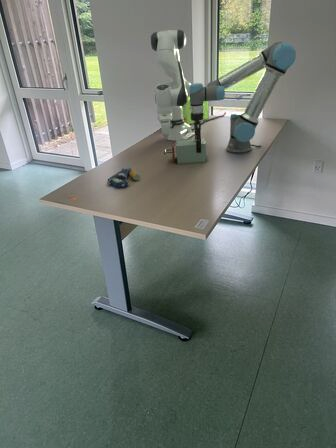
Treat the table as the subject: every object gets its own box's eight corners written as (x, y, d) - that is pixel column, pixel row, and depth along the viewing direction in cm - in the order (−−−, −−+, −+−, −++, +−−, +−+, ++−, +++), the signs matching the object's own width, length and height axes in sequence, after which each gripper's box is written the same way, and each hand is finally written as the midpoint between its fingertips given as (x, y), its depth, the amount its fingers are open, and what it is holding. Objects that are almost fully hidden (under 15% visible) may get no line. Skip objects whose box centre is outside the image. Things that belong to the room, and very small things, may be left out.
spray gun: (146, 174, 192) (124, 172, 198) (145, 167, 190) (123, 165, 196) (127, 190, 176) (104, 187, 183) (125, 183, 174) (102, 180, 181)
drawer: (164, 163, 204) (163, 148, 199) (164, 157, 212) (163, 143, 207) (199, 160, 203) (199, 145, 198) (198, 155, 211) (198, 140, 206)
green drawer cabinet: (177, 163, 203) (176, 145, 198) (177, 157, 212) (176, 140, 207) (206, 161, 203) (205, 143, 197) (204, 155, 212) (204, 138, 206)
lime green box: (191, 115, 302) (190, 88, 290) (208, 118, 288) (208, 90, 276) (170, 121, 289) (168, 93, 277) (187, 125, 275) (185, 95, 263)
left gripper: (160, 111, 203) (161, 134, 210) (159, 119, 185) (161, 144, 192) (170, 111, 202) (171, 133, 209) (170, 119, 185) (172, 143, 192)
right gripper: (189, 108, 203) (190, 144, 214) (191, 118, 183) (193, 156, 194) (201, 107, 202) (202, 143, 214) (205, 116, 183) (206, 155, 194)
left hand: (166, 138), depth 201 cm, fingers closed
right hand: (198, 149), depth 204 cm, fingers closed on green drawer cabinet, 10 cm apart
